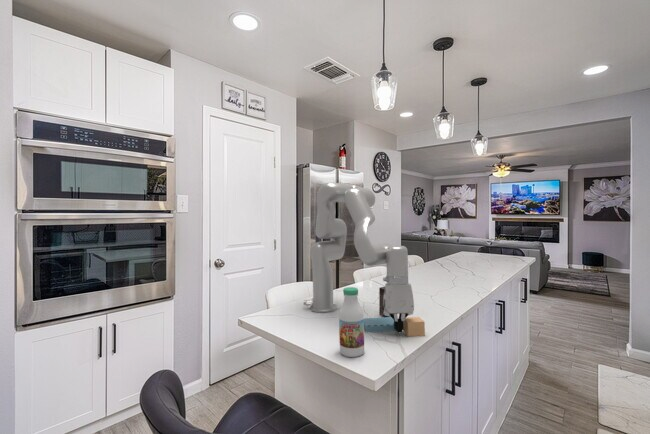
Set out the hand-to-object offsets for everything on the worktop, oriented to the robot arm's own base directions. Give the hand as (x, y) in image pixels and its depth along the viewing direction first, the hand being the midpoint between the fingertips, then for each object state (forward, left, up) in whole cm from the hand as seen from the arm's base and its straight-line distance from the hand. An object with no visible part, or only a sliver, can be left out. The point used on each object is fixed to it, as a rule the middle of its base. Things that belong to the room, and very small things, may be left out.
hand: (398, 331), depth 105 cm
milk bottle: (-19, -12, -1) cm, 23 cm away
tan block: (+5, 0, -1) cm, 6 cm away
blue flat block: (-4, +8, -1) cm, 9 cm away
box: (+2, +21, -1) cm, 21 cm away
